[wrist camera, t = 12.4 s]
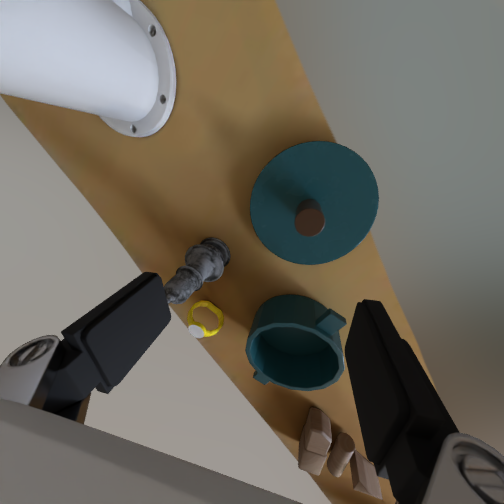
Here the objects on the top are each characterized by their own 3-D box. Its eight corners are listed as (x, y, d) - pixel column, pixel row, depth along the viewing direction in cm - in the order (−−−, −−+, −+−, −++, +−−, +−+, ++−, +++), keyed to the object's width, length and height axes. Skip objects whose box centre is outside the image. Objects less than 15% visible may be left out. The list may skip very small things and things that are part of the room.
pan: (235, 334, 37) (223, 363, 31) (294, 266, 27) (292, 291, 22) (293, 372, 37) (291, 407, 32) (371, 317, 28) (386, 354, 23)
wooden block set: (297, 476, 42) (309, 437, 35) (298, 443, 47) (309, 402, 40) (382, 508, 39) (417, 472, 31) (374, 469, 44) (402, 429, 36)
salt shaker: (206, 228, 28) (147, 267, 18) (238, 250, 29) (200, 302, 18) (191, 256, 31) (134, 304, 21) (221, 276, 31) (179, 334, 21)
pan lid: (233, 223, 27) (215, 238, 22) (295, 113, 20) (291, 95, 15) (318, 279, 27) (321, 308, 22) (407, 190, 20) (444, 200, 15)
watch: (230, 311, 34) (216, 338, 29) (223, 320, 36) (209, 347, 30) (202, 292, 34) (183, 316, 29) (196, 302, 35) (177, 326, 30)
